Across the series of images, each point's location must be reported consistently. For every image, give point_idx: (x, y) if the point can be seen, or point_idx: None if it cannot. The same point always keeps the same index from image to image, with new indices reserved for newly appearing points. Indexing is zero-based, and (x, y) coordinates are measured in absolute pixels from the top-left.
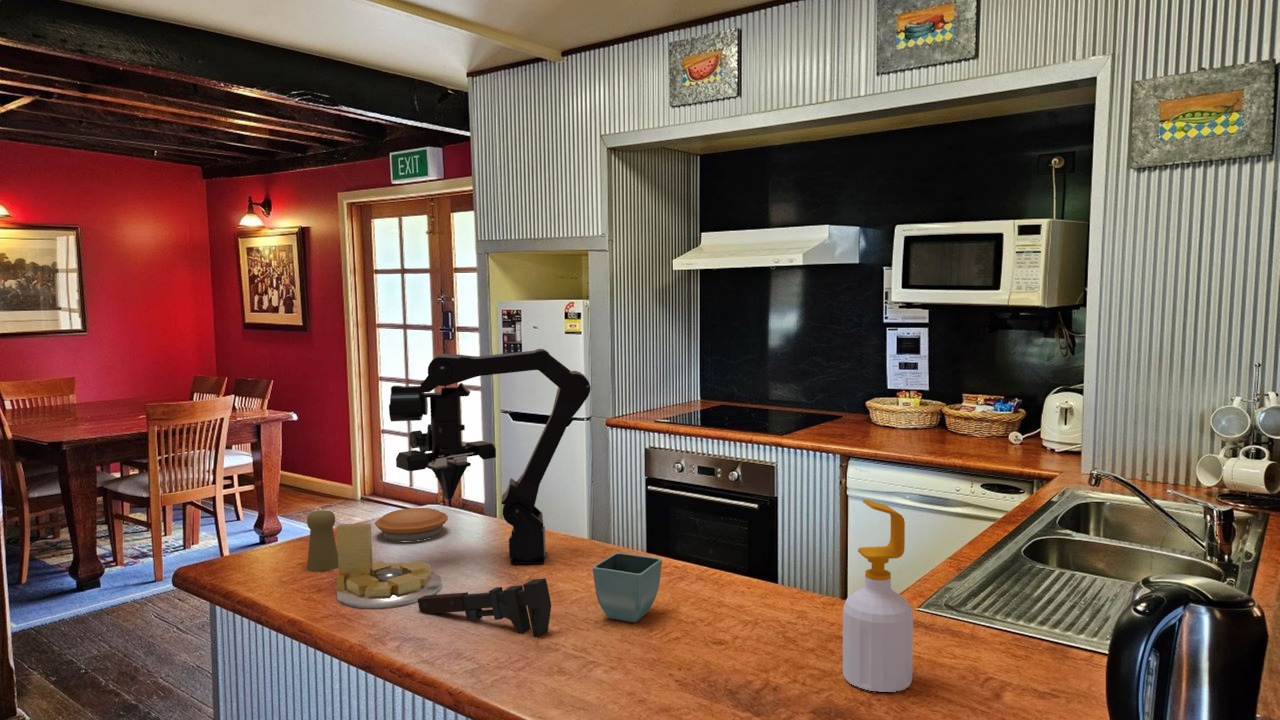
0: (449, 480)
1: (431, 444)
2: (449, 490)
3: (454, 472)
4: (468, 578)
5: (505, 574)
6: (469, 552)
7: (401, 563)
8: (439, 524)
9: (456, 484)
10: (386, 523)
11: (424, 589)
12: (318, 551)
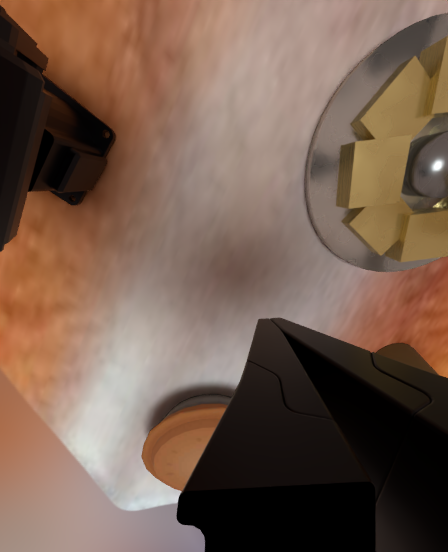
0: (378, 374)
1: None
2: (304, 334)
3: (341, 492)
4: (249, 114)
5: (158, 67)
6: (166, 290)
7: (366, 235)
8: (177, 413)
9: (263, 354)
10: None
11: (400, 62)
12: (437, 374)
